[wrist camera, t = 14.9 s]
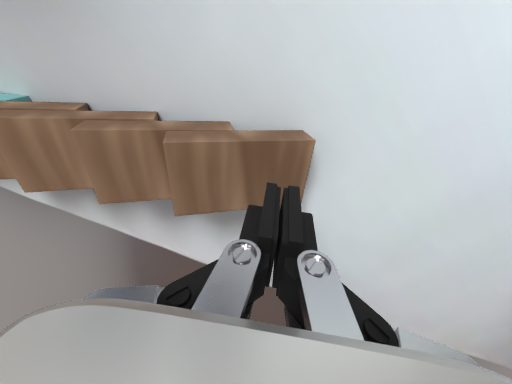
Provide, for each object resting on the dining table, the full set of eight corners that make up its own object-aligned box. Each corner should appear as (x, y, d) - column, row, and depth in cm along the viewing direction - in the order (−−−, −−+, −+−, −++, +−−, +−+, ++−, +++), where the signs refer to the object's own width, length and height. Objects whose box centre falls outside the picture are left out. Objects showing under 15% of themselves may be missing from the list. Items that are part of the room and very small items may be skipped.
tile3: (153, 119, 14) (-22, 117, 12) (165, 183, 17) (24, 192, 15) (157, 111, 16) (3, 109, 14) (167, 171, 19) (40, 178, 16)
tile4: (75, 109, 15) (-108, 106, 12) (99, 174, 17) (-47, 181, 15) (87, 103, 16) (-74, 99, 14) (107, 163, 19) (-25, 168, 17)
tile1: (315, 140, 14) (162, 142, 11) (300, 203, 16) (175, 216, 14) (302, 130, 15) (166, 130, 13) (290, 189, 18) (176, 198, 16)
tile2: (233, 130, 14) (70, 130, 12) (232, 194, 17) (99, 204, 14) (229, 121, 16) (84, 120, 13) (228, 181, 18) (108, 188, 16)
